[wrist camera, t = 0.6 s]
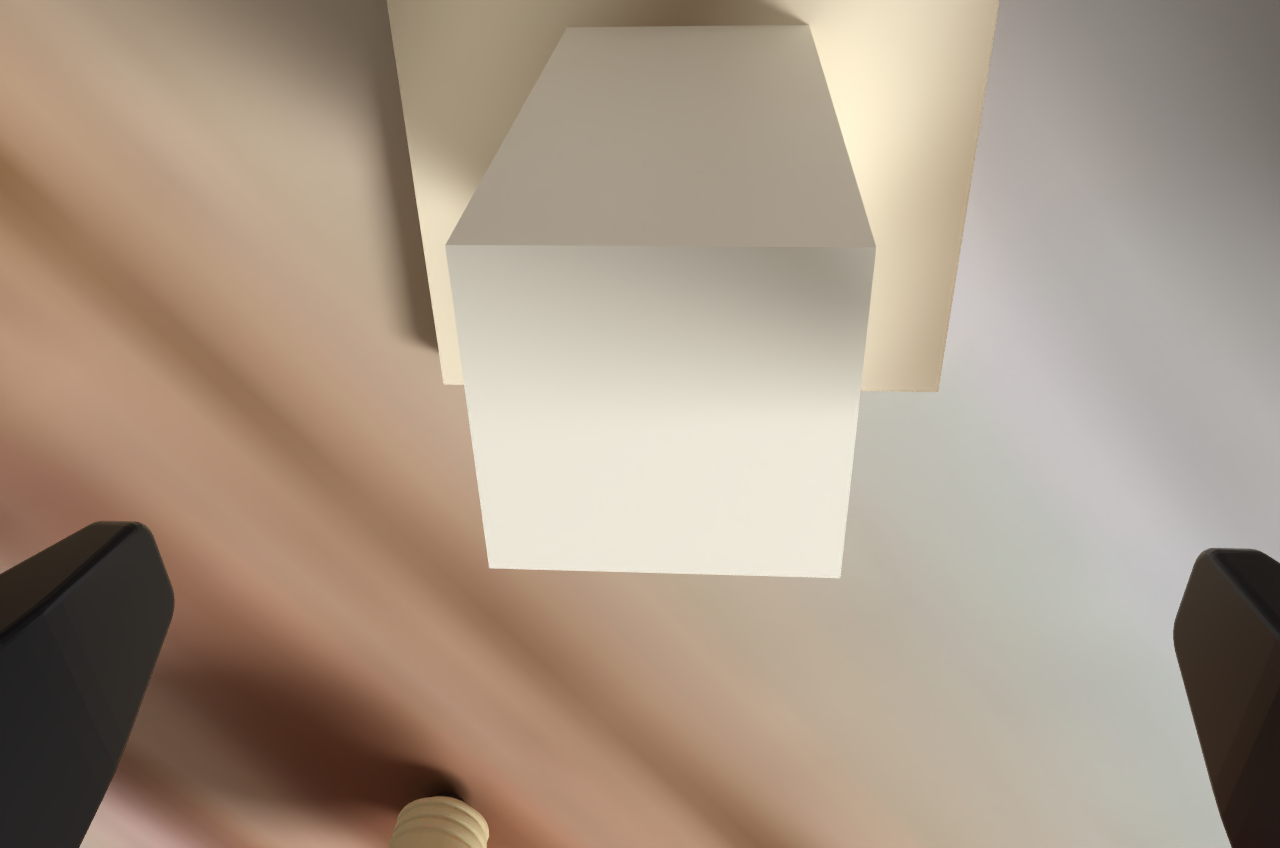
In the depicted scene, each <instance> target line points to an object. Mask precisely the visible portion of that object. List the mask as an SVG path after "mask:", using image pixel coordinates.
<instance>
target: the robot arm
mask: <svg viewBox="0 0 1280 848" xmlns="http://www.w3.org/2000/svg"><path fill="white" fill-rule="evenodd" d="M173 612H174V592H173V588H172V585H171V582H170V580H169V577H168V574H167V572H166V569H165V566H164V563H163V561H162V558H161V555H160V553H159V550H158V547H157V545H156V542H155V539H154V536H153V534H152V532H151V531H150V529H149V528H148V527H147V526H146V525H144V524H142V523H139V522H132V521H99V522H95V523H92V524H90V525H88V526H86V527H85V528H83V529H81V530H79V531H77V532H76V533H74V534H72V535H70V536H68V537H67V538H65V539H63V540H61V541H59V542H57V543H56V544H54V545H52V546H50V547H48V548H47V549H45V550H43V551H41V552H39V553H38V554H36V555H34V556H32V557H30V558H29V559H27V560H25V561H23V562H21V563H20V564H18V565H16V566H14V567H12V568H10V569H9V570H7V571H5V572H3V573H1V574H0V848H79V847H80V845H81V843H82V841H83V839H84V837H85V834H86V832H87V830H88V828H89V826H90V824H91V822H92V820H93V818H94V816H95V814H96V812H97V810H98V808H99V806H100V804H101V802H102V800H103V798H104V795H105V793H106V791H107V789H108V787H109V785H110V782H111V780H112V778H113V776H114V774H115V771H116V769H117V767H118V764H119V762H120V759H121V757H122V754H123V752H124V749H125V747H126V744H127V742H128V739H129V736H130V733H131V731H132V728H133V725H134V722H135V720H136V717H137V714H138V711H139V708H140V706H141V703H142V700H143V697H144V695H145V692H146V689H147V686H148V684H149V681H150V678H151V675H152V673H153V670H154V667H155V664H156V662H157V659H158V656H159V653H160V651H161V648H162V645H163V642H164V639H165V637H166V634H167V631H168V628H169V626H170V623H171V620H172V616H173ZM1173 640H1174V647H1175V652H1176V656H1177V660H1178V663H1179V667H1180V671H1181V674H1182V678H1183V682H1184V686H1185V689H1186V693H1187V697H1188V701H1189V704H1190V708H1191V712H1192V715H1193V719H1194V723H1195V727H1196V730H1197V734H1198V738H1199V741H1200V745H1201V749H1202V753H1203V756H1204V760H1205V764H1206V768H1207V771H1208V775H1209V779H1210V782H1211V786H1212V790H1213V793H1214V796H1215V800H1216V803H1217V806H1218V810H1219V813H1220V816H1221V819H1222V822H1223V825H1224V828H1225V830H1226V833H1227V836H1228V838H1229V841H1230V844H1231V847H1232V848H1280V563H1279V562H1277V561H1276V560H1274V559H1272V558H1271V557H1269V556H1268V555H1266V554H1264V553H1263V552H1261V551H1258V550H1254V549H1235V548H1210V549H1207V550H1205V551H1203V552H1202V553H1201V554H1200V555H1199V556H1198V557H1197V559H1196V562H1195V564H1194V566H1193V569H1192V572H1191V575H1190V578H1189V581H1188V584H1187V586H1186V589H1185V592H1184V595H1183V598H1182V601H1181V604H1180V607H1179V610H1178V612H1177V615H1176V619H1175V622H1174V630H1173Z"/></svg>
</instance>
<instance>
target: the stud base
mask: <svg viewBox="0 0 1280 848" xmlns="http://www.w3.org/2000/svg"><path fill="white" fill-rule="evenodd" d="M386 1H387V7H388V14H389V21H390V27H391V34H392V41H393V48H394V54H395V61H396V68H397V74H398V81H399V88H400V95H401V101H402V108H403V115H404V121H405V128H406V135H407V141H408V148H409V155H410V162H411V168H412V175H413V182H414V188H415V195H416V202H417V208H418V215H419V222H420V229H421V235H422V242H423V249H424V255H425V262H426V269H427V276H428V282H429V289H430V296H431V302H432V309H433V316H434V322H435V329H436V336H437V343H438V349H439V356H440V363H441V369H442V376H443V383H444V384H447V385H464V379H463V372H462V365H461V357H460V350H459V343H458V335H457V328H456V321H455V313H454V306H453V299H452V291H451V284H450V277H449V269H448V262H447V255H446V247H445V244H446V243H447V241H448V239H449V237H450V235H451V234H452V232H453V230H454V228H455V227H456V225H457V223H458V221H459V219H460V218H461V216H462V214H463V212H464V210H465V209H466V207H467V205H468V203H469V202H470V200H471V198H472V196H473V194H474V193H475V191H476V189H477V187H478V185H479V184H480V182H481V180H482V178H483V177H484V175H485V173H486V171H487V169H488V168H489V166H490V164H491V162H492V160H493V159H494V157H495V155H496V153H497V152H498V150H499V148H500V146H501V144H502V143H503V141H504V139H505V137H506V135H507V134H508V132H509V130H510V128H511V127H512V125H513V123H514V121H515V119H516V118H517V116H518V114H519V112H520V110H521V109H522V107H523V105H524V103H525V102H526V100H527V98H528V96H529V94H530V93H531V91H532V89H533V87H534V85H535V84H536V82H537V80H538V78H539V77H540V75H541V73H542V71H543V69H544V68H545V66H546V64H547V62H548V60H549V59H550V57H551V55H552V53H553V52H554V50H555V48H556V46H557V44H558V43H559V41H560V39H561V37H562V35H563V34H564V32H565V30H566V28H567V27H642V26H749V25H809V26H810V29H811V33H812V36H813V39H814V43H815V46H816V49H817V52H818V56H819V59H820V62H821V66H822V69H823V72H824V76H825V79H826V82H827V86H828V89H829V92H830V96H831V99H832V102H833V106H834V109H835V112H836V115H837V119H838V122H839V125H840V129H841V132H842V135H843V139H844V142H845V145H846V149H847V152H848V155H849V159H850V162H851V165H852V168H853V172H854V175H855V178H856V182H857V185H858V188H859V192H860V195H861V198H862V202H863V205H864V208H865V212H866V215H867V218H868V222H869V225H870V228H871V231H872V235H873V238H874V241H875V245H876V255H875V264H874V273H873V282H872V292H871V301H870V310H869V319H868V328H867V337H866V346H865V356H864V365H863V374H862V383H861V391H905V392H938V389H939V382H940V376H941V370H942V363H943V357H944V351H945V344H946V338H947V332H948V325H949V319H950V313H951V306H952V300H953V294H954V287H955V281H956V275H957V268H958V262H959V255H960V249H961V243H962V236H963V230H964V224H965V217H966V211H967V205H968V198H969V192H970V186H971V179H972V173H973V167H974V160H975V154H976V148H977V141H978V135H979V129H980V122H981V116H982V109H983V103H984V97H985V90H986V84H987V78H988V71H989V65H990V59H991V52H992V46H993V40H994V33H995V27H996V21H997V14H998V8H999V2H1000V0H386Z"/></svg>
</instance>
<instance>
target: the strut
mask: <svg viewBox="0 0 1280 848" xmlns="http://www.w3.org/2000/svg"><path fill="white" fill-rule="evenodd" d="M445 247H446V255H447V262H448V269H449V277H450V284H451V291H452V299H453V306H454V313H455V321H456V328H457V335H458V343H459V350H460V357H461V365H462V372H463V379H464V387H465V394H466V401H467V409H468V416H469V423H470V431H471V438H472V445H473V453H474V460H475V467H476V474H477V482H478V489H479V496H480V504H481V511H482V518H483V526H484V533H485V540H486V548H487V555H488V562H489V568H500V569H535V570H571V571H607V572H643V573H679V574H714V575H750V576H786V577H822V578H840V575H841V566H842V557H843V548H844V539H845V529H846V520H847V511H848V502H849V493H850V484H851V474H852V465H853V456H854V447H855V438H856V429H857V420H858V410H859V401H860V392H861V383H862V374H863V365H864V356H865V346H866V337H867V328H868V319H869V310H870V301H871V292H872V282H873V273H874V264H875V255H876V245H875V241H874V238H873V235H872V231H871V228H870V225H869V222H868V218H867V215H866V212H865V208H864V205H863V202H862V198H861V195H860V192H859V188H858V185H857V182H856V178H855V175H854V172H853V168H852V165H851V162H850V159H849V155H848V152H847V149H846V145H845V142H844V139H843V135H842V132H841V129H840V125H839V122H838V119H837V115H836V112H835V109H834V106H833V102H832V99H831V96H830V92H829V89H828V86H827V82H826V79H825V76H824V72H823V69H822V66H821V62H820V59H819V56H818V52H817V49H816V46H815V43H814V39H813V36H812V33H811V29H810V26H809V25H749V26H642V27H567V28H566V30H565V32H564V34H563V35H562V37H561V39H560V41H559V43H558V44H557V46H556V48H555V50H554V52H553V53H552V55H551V57H550V59H549V60H548V62H547V64H546V66H545V68H544V69H543V71H542V73H541V75H540V77H539V78H538V80H537V82H536V84H535V85H534V87H533V89H532V91H531V93H530V94H529V96H528V98H527V100H526V102H525V103H524V105H523V107H522V109H521V110H520V112H519V114H518V116H517V118H516V119H515V121H514V123H513V125H512V127H511V128H510V130H509V132H508V134H507V135H506V137H505V139H504V141H503V143H502V144H501V146H500V148H499V150H498V152H497V153H496V155H495V157H494V159H493V160H492V162H491V164H490V166H489V168H488V169H487V171H486V173H485V175H484V177H483V178H482V180H481V182H480V184H479V185H478V187H477V189H476V191H475V193H474V194H473V196H472V198H471V200H470V202H469V203H468V205H467V207H466V209H465V210H464V212H463V214H462V216H461V218H460V219H459V221H458V223H457V225H456V227H455V228H454V230H453V232H452V234H451V235H450V237H449V239H448V241H447V243H446V244H445Z"/></svg>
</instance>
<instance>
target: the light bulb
mask: <svg viewBox="0 0 1280 848" xmlns="http://www.w3.org/2000/svg"><path fill="white" fill-rule="evenodd" d="M488 838H489V829H488V825H487V823H486V820H485V819H484V818H483V816H482V815H481V814H480V813H479V812H478V811H476V810H475V809H474V808H472V807H470V806H469V805H467V804H466V803H465V802H464V800H463V799H462V798H460V797H459V796H457V795H454V794H450V793H443V794H439V795H437V796H434V797H428V798H422V799H418V800H415V801H413V802H411V803H409V804H407V805H406V806H405V807H404V808H403V809H402V810H401V812H400V813H399V815H398V818H397V823H396V825H395V828H394V833H393V836H392V838H391V841H390V847H389V848H486V846H487V841H488Z"/></svg>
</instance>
